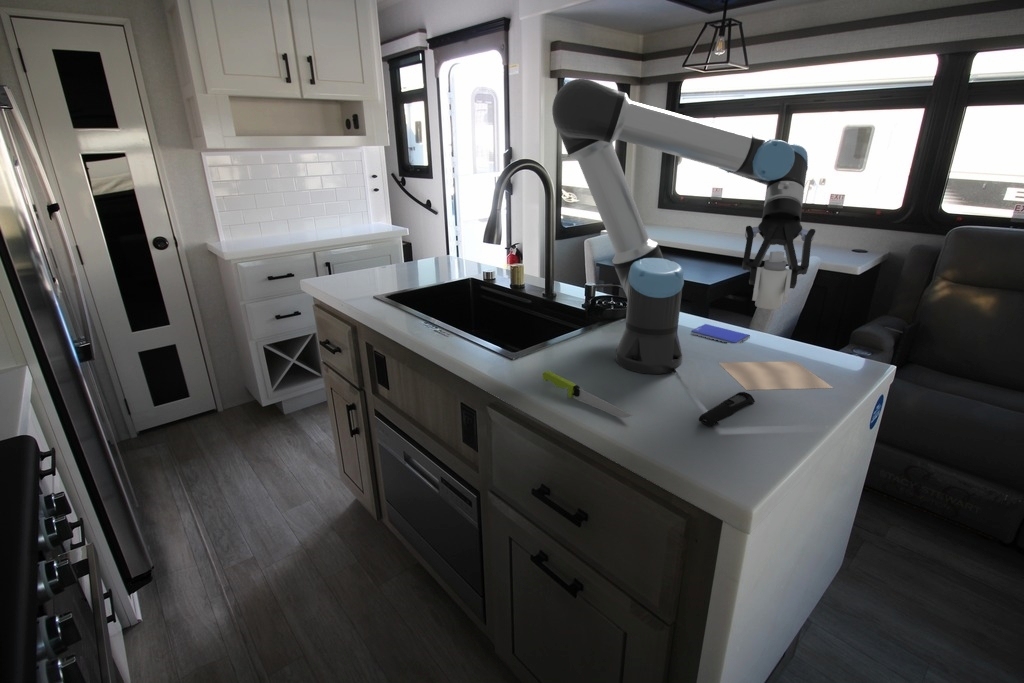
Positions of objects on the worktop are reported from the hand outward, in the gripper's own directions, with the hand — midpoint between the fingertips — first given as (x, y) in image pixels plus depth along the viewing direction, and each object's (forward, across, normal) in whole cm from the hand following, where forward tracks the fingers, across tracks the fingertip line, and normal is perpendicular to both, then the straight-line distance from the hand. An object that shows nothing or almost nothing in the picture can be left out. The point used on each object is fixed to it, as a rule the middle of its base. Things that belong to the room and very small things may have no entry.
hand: (769, 298), depth 104 cm
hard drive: (-5, -9, +32) cm, 34 cm away
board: (+12, +3, +14) cm, 19 cm away
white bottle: (-1, 0, +4) cm, 5 cm away
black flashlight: (+27, -4, 0) cm, 27 cm away
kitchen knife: (+31, -30, -5) cm, 44 cm away
